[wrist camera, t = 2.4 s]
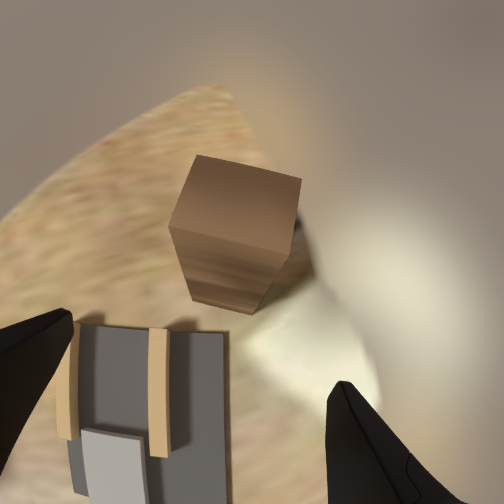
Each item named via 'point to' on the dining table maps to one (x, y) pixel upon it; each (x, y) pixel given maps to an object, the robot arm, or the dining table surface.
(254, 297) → the wooden block
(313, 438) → the dining table surface
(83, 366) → the underlay
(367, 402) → the robot arm
